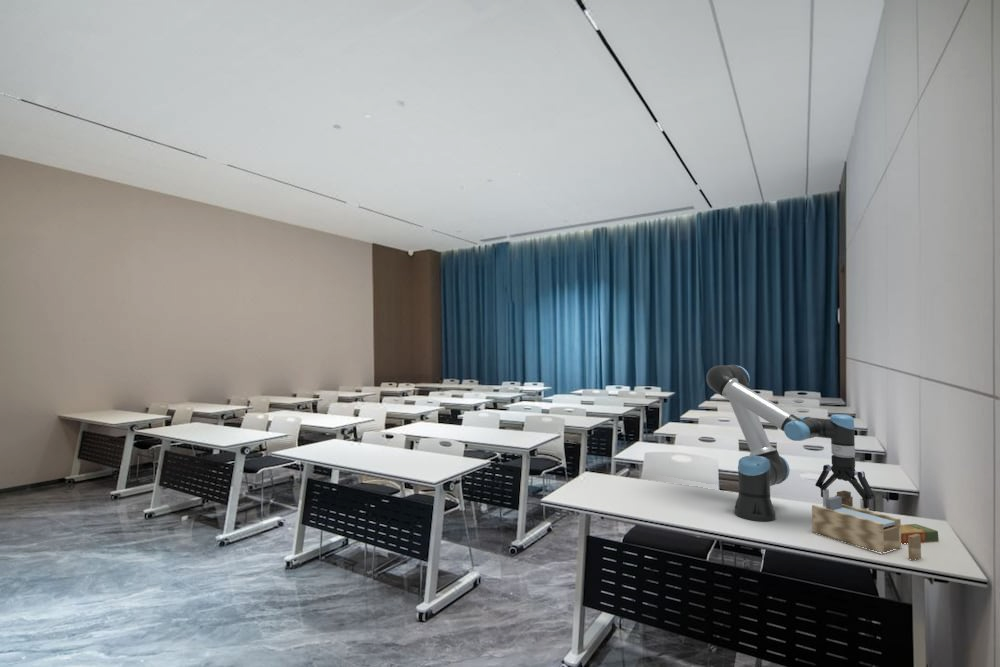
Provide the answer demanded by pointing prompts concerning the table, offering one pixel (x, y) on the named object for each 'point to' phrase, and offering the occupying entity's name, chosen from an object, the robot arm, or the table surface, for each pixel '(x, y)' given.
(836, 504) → the lid
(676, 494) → the table surface
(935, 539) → the carton
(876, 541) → the wooden box
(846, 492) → the brown block
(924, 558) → the table surface
